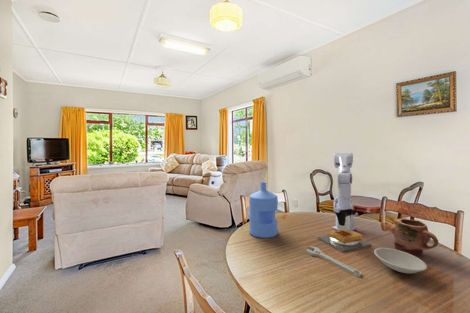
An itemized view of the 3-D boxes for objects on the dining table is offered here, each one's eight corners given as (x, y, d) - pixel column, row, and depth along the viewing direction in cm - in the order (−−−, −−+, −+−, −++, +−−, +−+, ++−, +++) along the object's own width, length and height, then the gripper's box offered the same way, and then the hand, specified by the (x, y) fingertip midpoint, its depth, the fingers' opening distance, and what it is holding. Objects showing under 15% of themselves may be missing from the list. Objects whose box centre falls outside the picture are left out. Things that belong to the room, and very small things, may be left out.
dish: (364, 261, 94) (364, 249, 94) (392, 257, 97) (392, 245, 97) (406, 287, 77) (406, 272, 77) (437, 280, 80) (438, 266, 80)
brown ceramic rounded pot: (448, 261, 94) (449, 228, 93) (429, 267, 89) (430, 232, 89) (399, 242, 112) (399, 214, 112) (381, 246, 108) (381, 217, 108)
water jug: (243, 233, 125) (243, 183, 124) (260, 225, 137) (260, 179, 136) (266, 241, 115) (266, 186, 113) (283, 232, 126) (283, 182, 125)
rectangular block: (341, 227, 115) (342, 213, 115) (349, 229, 112) (349, 215, 112) (337, 228, 113) (337, 214, 113) (345, 231, 110) (345, 216, 109)
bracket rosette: (344, 233, 123) (344, 225, 123) (371, 245, 108) (371, 236, 108) (317, 239, 117) (318, 230, 117) (342, 252, 102) (343, 242, 102)
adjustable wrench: (363, 276, 84) (363, 272, 84) (351, 281, 81) (351, 276, 81) (313, 248, 107) (313, 245, 107) (302, 251, 104) (302, 247, 104)
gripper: (344, 193, 119) (343, 219, 120) (328, 197, 111) (328, 225, 111) (357, 196, 113) (357, 222, 114) (342, 200, 105) (342, 229, 106)
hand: (343, 224), depth 112 cm, fingers closed on rectangular block, 4 cm apart
